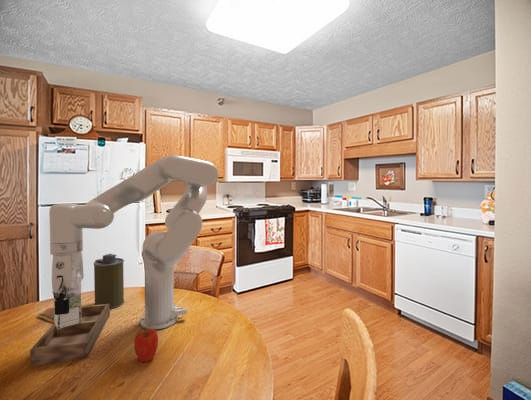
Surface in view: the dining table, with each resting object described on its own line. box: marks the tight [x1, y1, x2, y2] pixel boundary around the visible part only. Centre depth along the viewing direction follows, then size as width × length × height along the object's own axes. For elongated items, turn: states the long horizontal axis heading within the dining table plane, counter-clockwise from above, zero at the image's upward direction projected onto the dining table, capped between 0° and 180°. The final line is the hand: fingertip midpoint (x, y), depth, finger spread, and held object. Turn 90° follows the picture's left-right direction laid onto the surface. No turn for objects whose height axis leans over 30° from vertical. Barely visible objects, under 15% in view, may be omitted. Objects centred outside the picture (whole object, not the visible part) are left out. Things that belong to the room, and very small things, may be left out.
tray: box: [29, 304, 111, 367], centre depth 85 cm, size 13×25×4 cm, turn 17°
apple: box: [133, 329, 159, 363], centre depth 75 cm, size 6×6×8 cm
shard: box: [37, 307, 55, 324], centre depth 97 cm, size 11×8×2 cm
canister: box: [93, 253, 125, 310], centre depth 108 cm, size 11×10×20 cm
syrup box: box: [53, 274, 82, 330], centre depth 79 cm, size 6×6×14 cm
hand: (67, 307), depth 79 cm, fingers closed on syrup box, 7 cm apart
